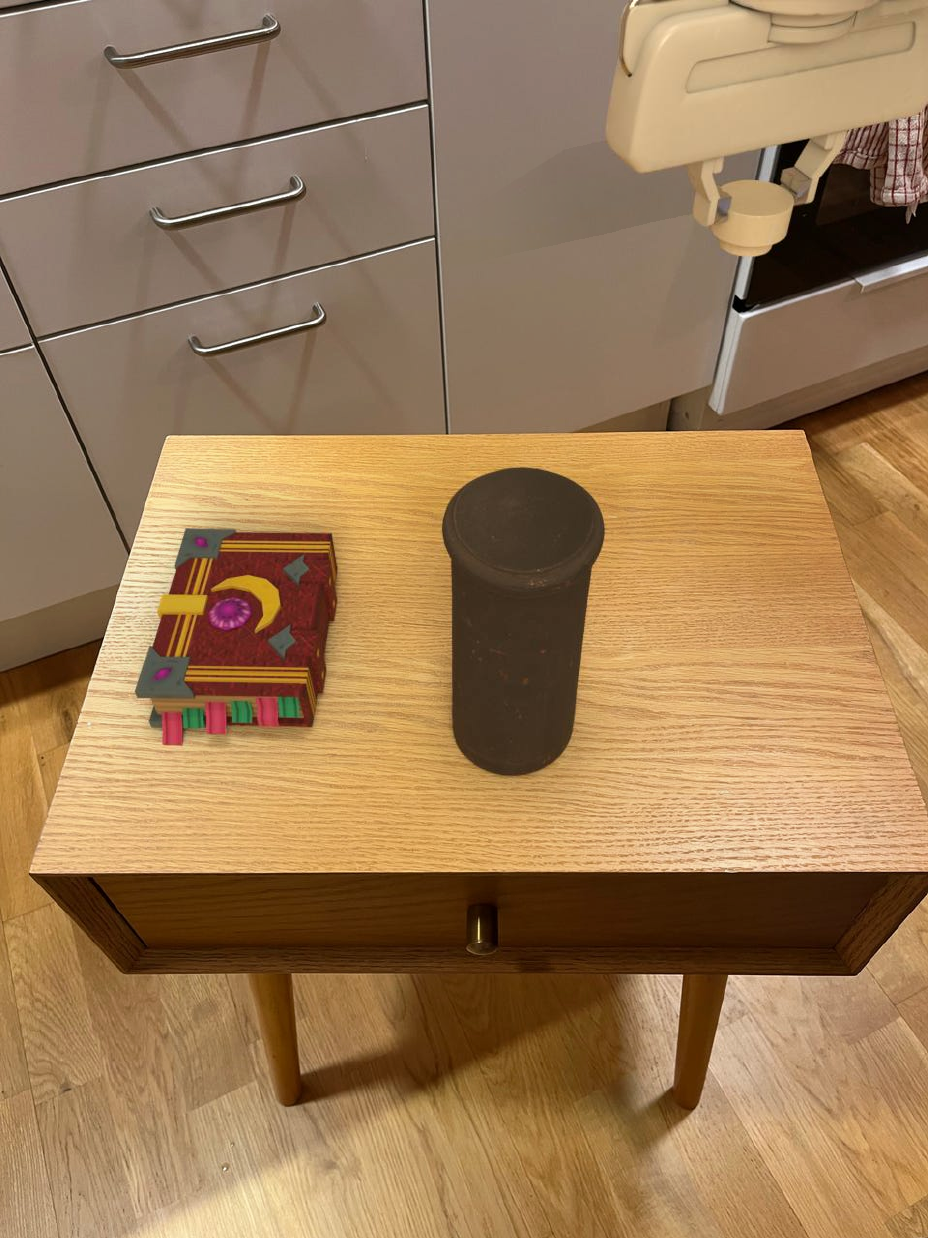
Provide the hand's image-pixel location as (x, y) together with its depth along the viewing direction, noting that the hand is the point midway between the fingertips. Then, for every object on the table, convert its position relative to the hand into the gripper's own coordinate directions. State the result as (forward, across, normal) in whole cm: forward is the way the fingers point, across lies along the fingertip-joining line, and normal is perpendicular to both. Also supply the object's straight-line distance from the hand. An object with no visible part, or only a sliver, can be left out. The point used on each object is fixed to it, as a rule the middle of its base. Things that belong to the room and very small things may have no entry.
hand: (752, 210), depth 60 cm
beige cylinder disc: (+2, 0, 0) cm, 2 cm away
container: (+25, -22, -15) cm, 36 cm away
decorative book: (+25, -37, -2) cm, 45 cm away
